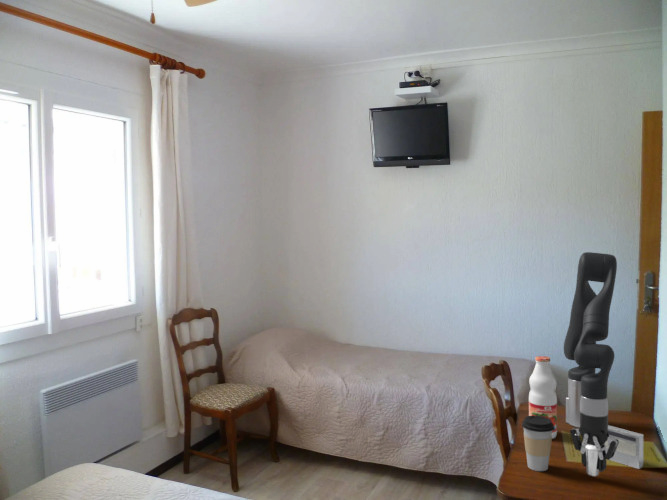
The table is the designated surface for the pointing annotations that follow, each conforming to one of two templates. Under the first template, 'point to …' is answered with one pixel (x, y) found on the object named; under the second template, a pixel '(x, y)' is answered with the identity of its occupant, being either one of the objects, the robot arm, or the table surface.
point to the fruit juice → (543, 392)
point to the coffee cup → (537, 441)
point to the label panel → (627, 447)
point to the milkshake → (592, 460)
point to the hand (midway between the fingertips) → (593, 467)
